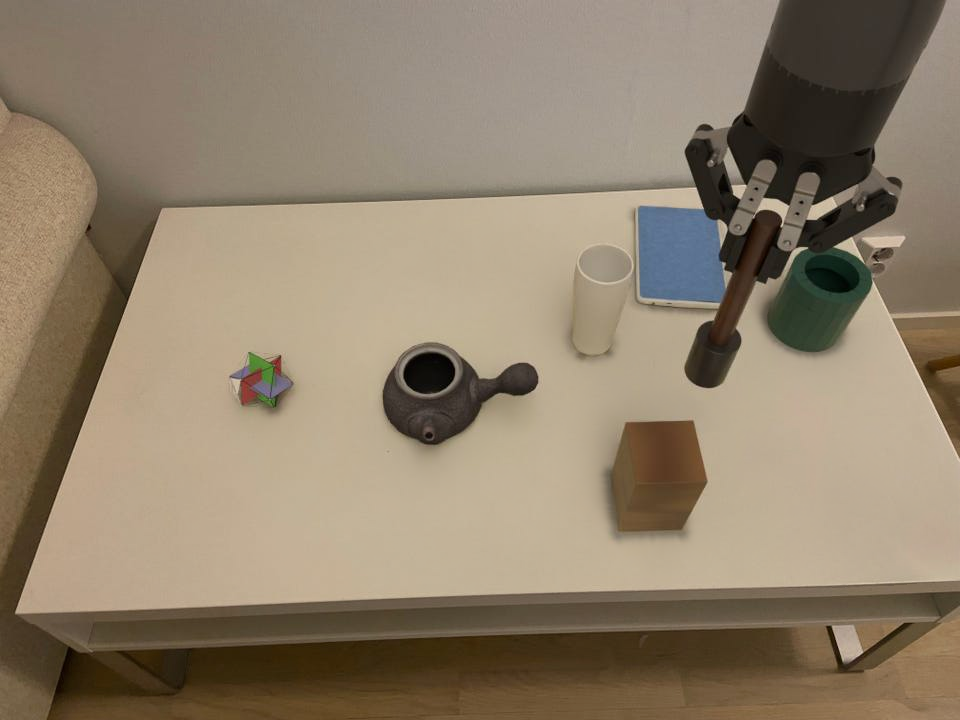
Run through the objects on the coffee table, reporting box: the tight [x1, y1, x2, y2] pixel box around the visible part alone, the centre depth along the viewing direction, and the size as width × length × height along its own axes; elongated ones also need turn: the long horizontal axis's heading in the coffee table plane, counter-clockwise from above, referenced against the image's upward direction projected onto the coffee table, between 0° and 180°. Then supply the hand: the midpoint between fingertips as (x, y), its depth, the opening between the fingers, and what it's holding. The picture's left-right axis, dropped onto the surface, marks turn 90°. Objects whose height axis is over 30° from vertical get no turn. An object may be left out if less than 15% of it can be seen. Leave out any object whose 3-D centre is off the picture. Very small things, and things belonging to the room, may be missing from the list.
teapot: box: [381, 341, 539, 446], centre depth 83 cm, size 19×15×10 cm
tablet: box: [634, 204, 728, 310], centre depth 101 cm, size 19×13×1 cm, turn 173°
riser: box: [610, 419, 709, 533], centre depth 75 cm, size 7×7×12 cm
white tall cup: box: [571, 242, 635, 356], centre depth 87 cm, size 7×7×15 cm
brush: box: [683, 209, 783, 389], centre depth 54 cm, size 4×4×18 cm
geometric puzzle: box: [228, 350, 295, 409], centre depth 87 cm, size 7×7×8 cm
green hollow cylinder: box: [767, 246, 874, 353], centre depth 90 cm, size 9×9×10 cm
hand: (748, 269), depth 51 cm, fingers closed on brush, 2 cm apart
